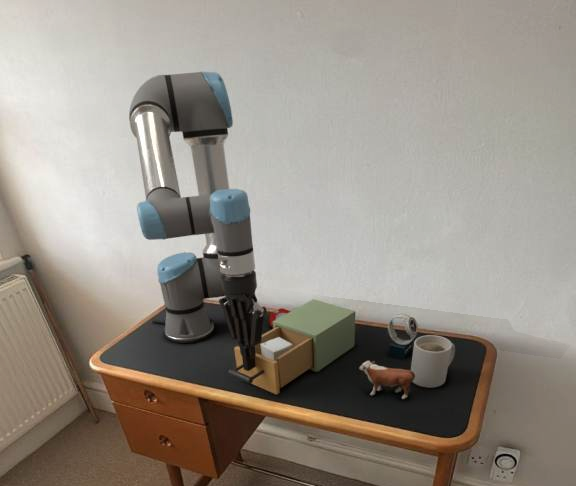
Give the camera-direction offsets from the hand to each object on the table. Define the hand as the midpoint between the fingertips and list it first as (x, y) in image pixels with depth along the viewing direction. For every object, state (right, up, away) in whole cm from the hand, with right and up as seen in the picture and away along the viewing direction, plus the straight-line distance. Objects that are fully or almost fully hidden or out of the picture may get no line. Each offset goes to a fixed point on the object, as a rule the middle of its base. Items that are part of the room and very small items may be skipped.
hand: (249, 367), depth 113 cm
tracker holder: (+9, +19, +35) cm, 40 cm away
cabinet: (+17, +7, +20) cm, 27 cm away
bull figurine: (+33, -6, +1) cm, 34 cm away
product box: (+7, +1, +9) cm, 11 cm away
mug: (+46, -2, +6) cm, 47 cm away
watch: (+41, +6, +17) cm, 44 cm away
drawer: (+5, -1, +8) cm, 10 cm away
